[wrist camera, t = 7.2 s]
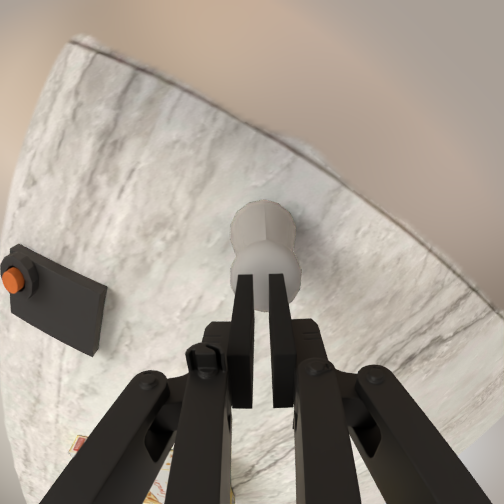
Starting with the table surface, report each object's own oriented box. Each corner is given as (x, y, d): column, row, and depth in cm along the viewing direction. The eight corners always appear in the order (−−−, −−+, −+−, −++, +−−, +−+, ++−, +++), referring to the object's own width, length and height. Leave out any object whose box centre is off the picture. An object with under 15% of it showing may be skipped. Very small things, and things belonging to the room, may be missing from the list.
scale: (16, 305, 34) (2, 316, 31) (17, 240, 31) (0, 249, 28) (98, 348, 36) (87, 365, 32) (107, 284, 32) (94, 298, 29)
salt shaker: (256, 265, 31) (255, 344, 19) (219, 220, 30) (193, 277, 18) (304, 230, 30) (335, 293, 18) (269, 183, 28) (278, 215, 16)
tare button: (9, 282, 29) (2, 288, 28) (9, 263, 28) (1, 268, 27) (24, 291, 30) (17, 297, 28) (25, 272, 29) (17, 277, 27)
